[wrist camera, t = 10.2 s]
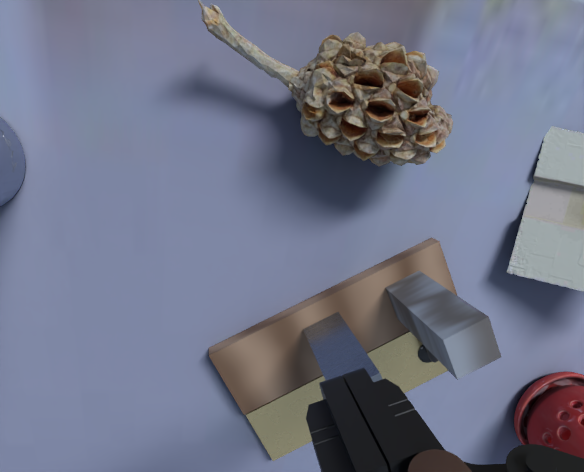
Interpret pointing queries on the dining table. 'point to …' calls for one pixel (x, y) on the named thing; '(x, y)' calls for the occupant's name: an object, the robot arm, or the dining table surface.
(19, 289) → the dining table surface
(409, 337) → the bolt plate
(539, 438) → the plant pot
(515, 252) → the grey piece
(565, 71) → the dining table surface
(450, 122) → the pine cone
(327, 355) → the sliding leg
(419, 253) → the base
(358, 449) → the robot arm
